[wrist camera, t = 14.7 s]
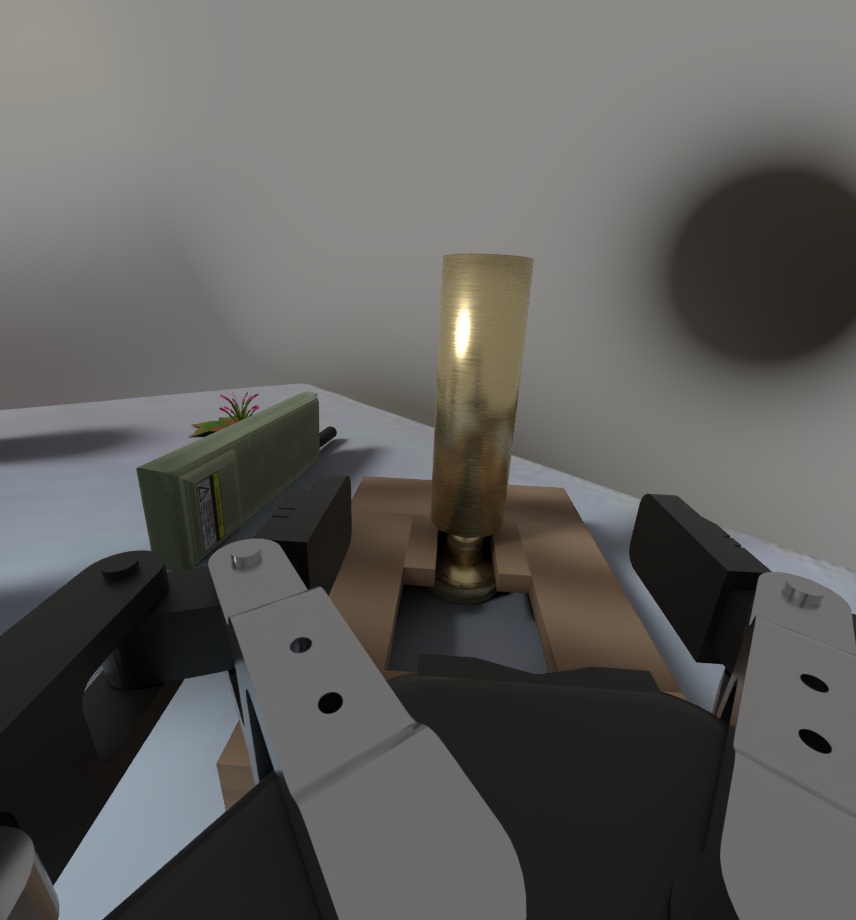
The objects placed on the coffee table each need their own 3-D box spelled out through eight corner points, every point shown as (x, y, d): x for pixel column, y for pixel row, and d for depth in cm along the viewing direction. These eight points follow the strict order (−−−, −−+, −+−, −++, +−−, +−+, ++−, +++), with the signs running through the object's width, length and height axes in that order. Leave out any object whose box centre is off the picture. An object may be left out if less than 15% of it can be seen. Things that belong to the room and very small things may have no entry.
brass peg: (411, 567, 26) (421, 257, 20) (473, 551, 28) (499, 264, 22) (447, 613, 22) (472, 250, 16) (515, 591, 24) (560, 259, 18)
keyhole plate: (714, 885, 12) (750, 810, 11) (231, 839, 13) (216, 764, 11) (556, 529, 31) (563, 488, 30) (364, 517, 31) (363, 476, 30)
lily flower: (203, 457, 43) (196, 413, 41) (173, 428, 51) (166, 390, 49) (313, 437, 50) (311, 398, 49) (272, 414, 58) (268, 381, 57)
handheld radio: (143, 569, 25) (316, 440, 48) (194, 579, 25) (345, 444, 48) (122, 464, 23) (316, 381, 46) (179, 473, 22) (345, 385, 45)
